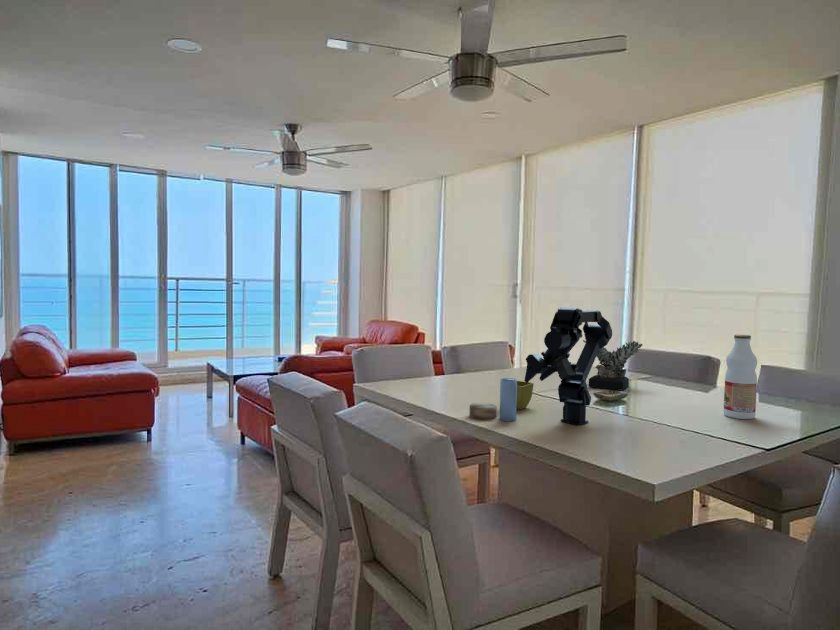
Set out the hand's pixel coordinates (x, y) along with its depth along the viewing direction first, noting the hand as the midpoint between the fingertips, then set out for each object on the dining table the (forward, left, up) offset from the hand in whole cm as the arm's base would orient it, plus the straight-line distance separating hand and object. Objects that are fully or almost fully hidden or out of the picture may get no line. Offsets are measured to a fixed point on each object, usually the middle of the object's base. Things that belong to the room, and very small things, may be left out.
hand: (533, 380), depth 175 cm
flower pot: (+15, -9, -13) cm, 22 cm away
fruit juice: (-37, -63, -13) cm, 74 cm away
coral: (+21, -75, -13) cm, 79 cm away
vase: (+5, +6, -13) cm, 15 cm away
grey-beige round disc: (+13, +10, -13) cm, 21 cm away
